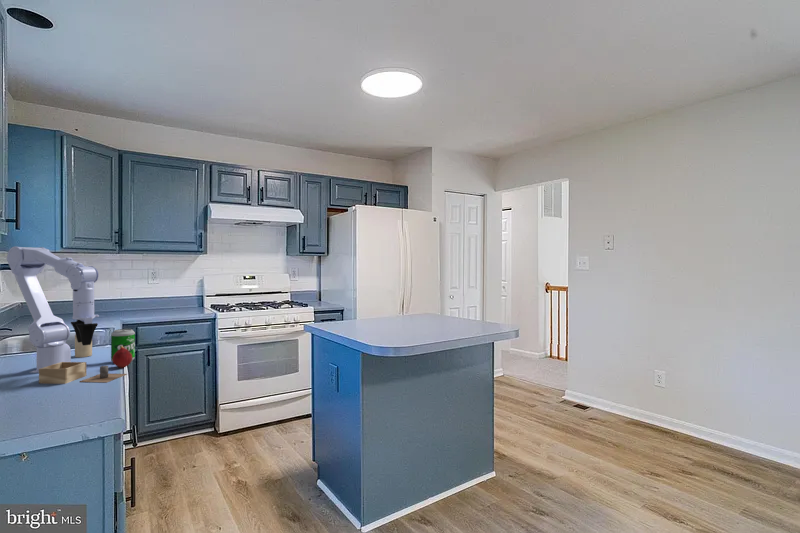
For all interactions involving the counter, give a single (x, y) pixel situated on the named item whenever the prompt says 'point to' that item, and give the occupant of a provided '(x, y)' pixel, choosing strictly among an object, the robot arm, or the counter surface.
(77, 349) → the candle
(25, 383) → the counter surface
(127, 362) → the onion
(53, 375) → the box
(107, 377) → the lid
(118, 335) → the soda can
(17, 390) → the counter surface
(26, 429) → the counter surface
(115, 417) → the counter surface
